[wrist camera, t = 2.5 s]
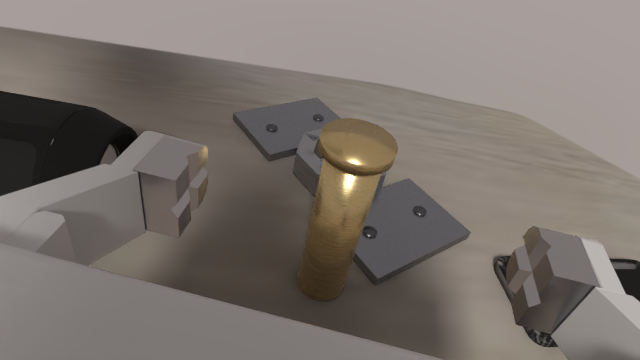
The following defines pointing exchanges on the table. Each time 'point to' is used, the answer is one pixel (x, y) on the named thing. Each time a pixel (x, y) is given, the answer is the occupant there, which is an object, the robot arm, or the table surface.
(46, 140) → the portable speaker
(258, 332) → the robot arm
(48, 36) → the table surface
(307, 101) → the hinge body
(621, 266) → the phone
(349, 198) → the pin
